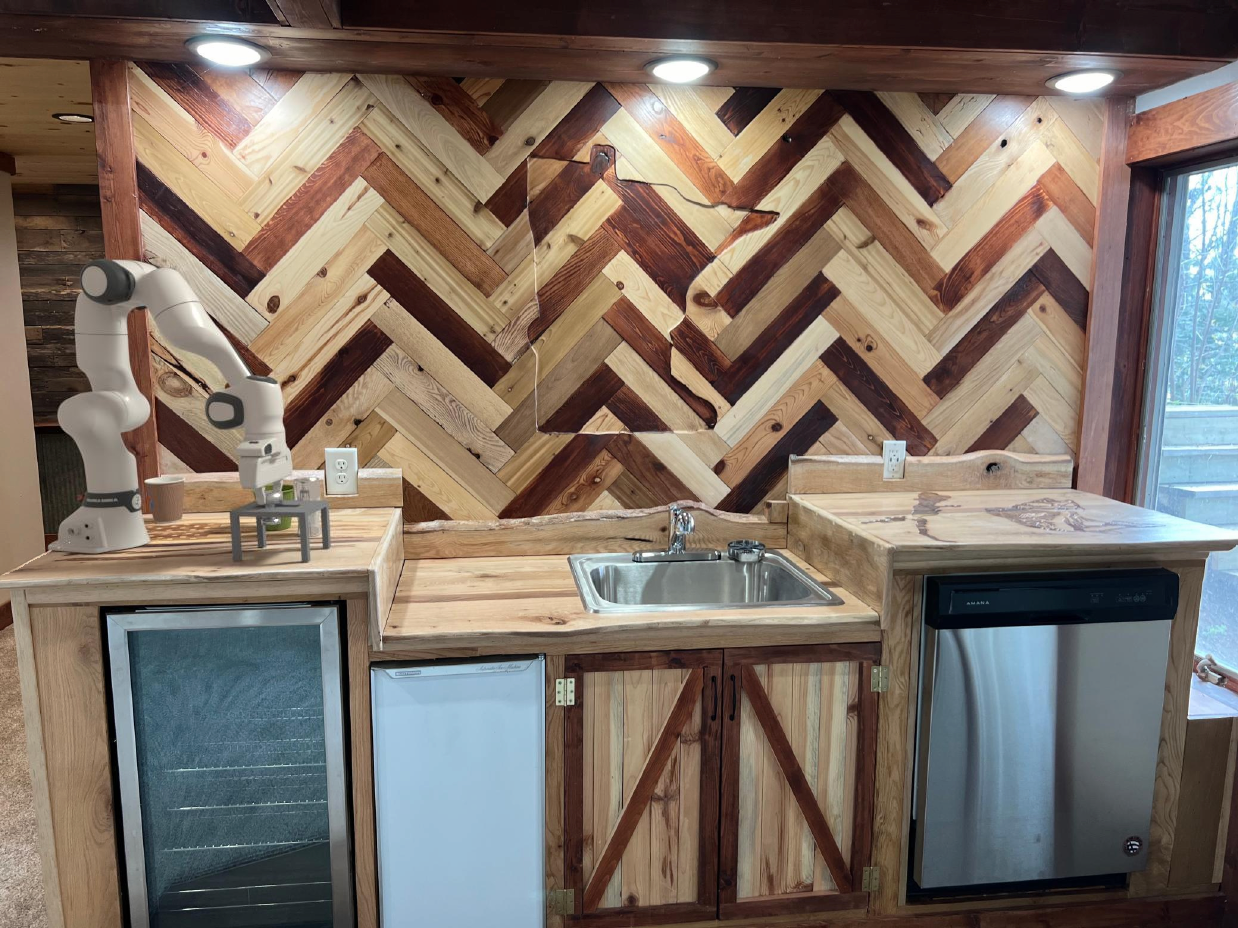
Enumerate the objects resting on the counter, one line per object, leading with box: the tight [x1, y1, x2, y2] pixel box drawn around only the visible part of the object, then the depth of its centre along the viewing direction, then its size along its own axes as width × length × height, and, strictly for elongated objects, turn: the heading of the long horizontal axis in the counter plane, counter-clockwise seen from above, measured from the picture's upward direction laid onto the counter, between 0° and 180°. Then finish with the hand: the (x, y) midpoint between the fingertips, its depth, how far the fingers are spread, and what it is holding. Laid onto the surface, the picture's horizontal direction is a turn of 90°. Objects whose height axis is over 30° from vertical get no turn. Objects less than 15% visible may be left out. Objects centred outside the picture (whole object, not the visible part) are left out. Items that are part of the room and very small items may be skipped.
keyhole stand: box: [229, 499, 332, 563], centre depth 205 cm, size 18×14×12 cm
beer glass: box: [292, 476, 322, 538], centre depth 225 cm, size 7×7×15 cm
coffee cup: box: [144, 476, 186, 524], centre depth 241 cm, size 10×10×12 cm
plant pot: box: [250, 483, 293, 531], centre depth 232 cm, size 12×12×11 cm
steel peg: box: [255, 490, 283, 526], centre depth 204 cm, size 6×6×8 cm
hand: (269, 501), depth 204 cm, fingers closed on steel peg, 6 cm apart
